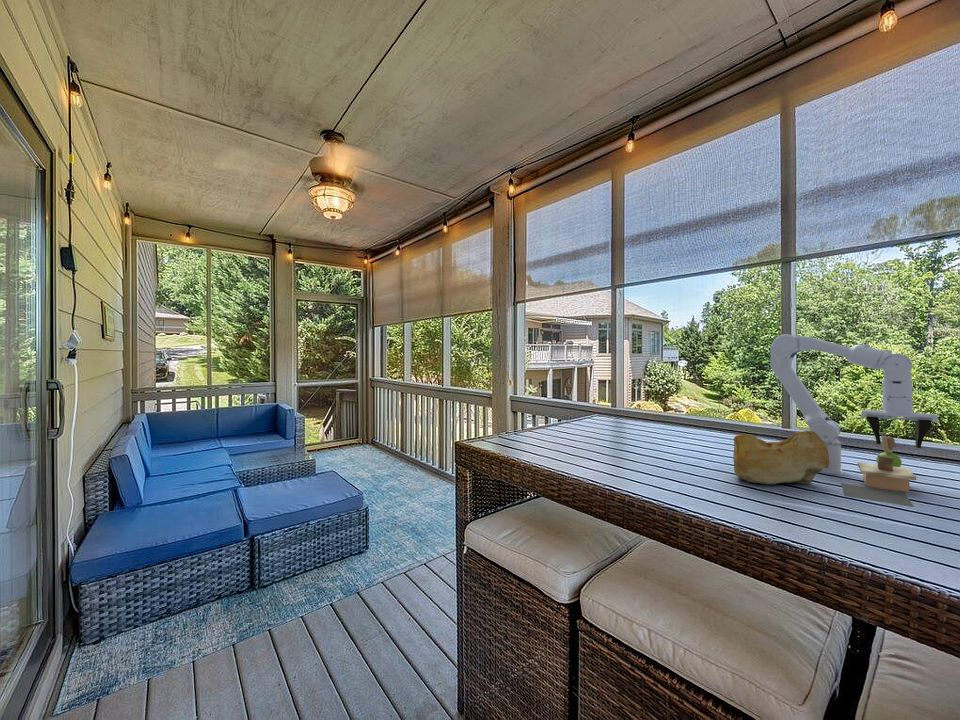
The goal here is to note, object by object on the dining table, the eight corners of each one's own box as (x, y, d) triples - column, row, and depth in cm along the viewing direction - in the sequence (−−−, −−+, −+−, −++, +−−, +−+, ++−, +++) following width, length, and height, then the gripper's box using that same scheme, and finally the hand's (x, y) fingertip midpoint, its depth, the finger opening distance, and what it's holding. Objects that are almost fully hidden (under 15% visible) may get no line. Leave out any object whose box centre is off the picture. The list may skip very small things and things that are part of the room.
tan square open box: (866, 487, 106) (866, 472, 106) (862, 480, 112) (862, 466, 112) (909, 493, 101) (909, 478, 101) (903, 485, 107) (903, 471, 107)
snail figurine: (871, 469, 123) (871, 430, 123) (881, 466, 125) (881, 429, 125) (895, 473, 118) (895, 434, 118) (905, 470, 121) (905, 432, 120)
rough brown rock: (802, 475, 120) (798, 426, 121) (839, 489, 104) (834, 432, 105) (719, 474, 125) (715, 427, 126) (742, 487, 108) (738, 432, 110)
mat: (844, 497, 99) (844, 495, 99) (841, 484, 109) (841, 483, 109) (914, 508, 92) (914, 506, 92) (904, 494, 101) (904, 492, 101)
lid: (861, 473, 106) (861, 457, 106) (857, 465, 114) (857, 450, 113) (916, 480, 99) (916, 463, 99) (908, 471, 107) (908, 455, 107)
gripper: (862, 396, 111) (862, 444, 112) (940, 399, 102) (940, 451, 102) (860, 394, 117) (860, 440, 117) (934, 397, 107) (934, 446, 107)
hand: (897, 445), depth 110 cm, fingers open, 7 cm apart
